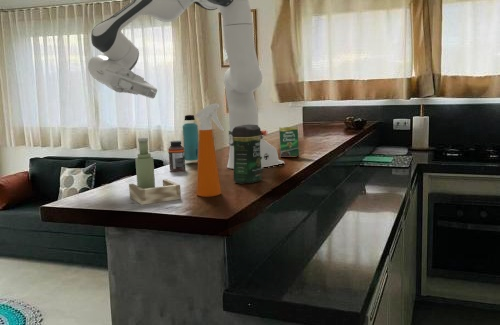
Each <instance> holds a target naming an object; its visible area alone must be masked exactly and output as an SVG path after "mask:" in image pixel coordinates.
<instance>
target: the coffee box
mask: <svg viewBox="0 0 500 325" xmlns="http://www.w3.org/2000/svg"><path fill="white" fill-rule="evenodd" d="M278 129H279V130H278V131H279V149H280V157H281V156H299V157H300V148H299V147H300V145H299V128H298V126H284V127H283V126H281V127H279V128H278Z"/></svg>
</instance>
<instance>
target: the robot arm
mask: <svg viewBox="0 0 500 325" xmlns="http://www.w3.org/2000/svg"><path fill="white" fill-rule="evenodd" d="M192 4H195V5H196V6H200V7H201V8H202V9H204V10H206V11H214V10H218V11H219V12H220V14H221V18H222V27H223V28H222V30H223V42H224V51H225V53H226V56H227V60H228V64H229V65H228V66H229V68H227V70H226V71H225V73H224V75H223V84H224V90H225V96H226V102H227V109H228V121H229V122H228V124H229V130H228V144H229V155H228V162H227V166H226V167H227V168H228V169H233V170H234V144H233V139H232V137H233V136H232V133H233V129H234V128H235V127H237V126H241V125H258V126H259V111H258V107H257V103H256V99H255V98H256V97H255V94H254V92H255V91H257V89H258V88H259V87H260V86H261V84H262V81H263V74H262V71H261V69H260V65H259V60H258V55H257V52H256V47H255V37H254V35H255V34H254V27H253V26H254V25H253V14H252V10H251V6H250V2H249V0H132V1H130V2H128V4H126V5H124V7H122V8H121V9H120V10H118V11H116V12H115V13H114V14H112V15H111V16H110V17H108V18H107V19H105V20H102V21H101V22H99V23H98V24H96V25H95V26H94V27H93V29H92V31H91V35H90V37H91V44H92V46H93V47H94V48H96V49H97V50H98V51H99V52H101V53H102V54H100V55H99V54H98V55H94V56H92V57H91V58H90V59H89V61H88V64H87V69H88V72H89V74H90V75H91V77H93V78H94V79H95V81H97V82H99V83H101V84H102V85H105V86H106V87H108V88H110V89H111V90H113V91H115V92H116V93H124V94H125V93H126V94H132V95H136V96H137V95H139V96H143V97H146V98H149V99H154V98H156V95H157V92H158V89H157V88H156V87H155V86H154V85H152V84H151V83H149V82H148V81H146V80H145V79H144V77H142V76H140V75H138V74H137V73H135V72H133V71H132V70H133V69H134V68H135V66H136V64H137V63H138V60H139V56H140V52H139V49H138V48H137V47H136V45H134V43H133V42H132V41H131V40H130V39H128V37H127V36H126V35H125V33H123V32H122V30H124V28H125V27H127V26H128V25H129V24H131V23H132V22H133V21H134V20H136V19H137V18H139V17H142V16H148V17H149V16H150V17H151V18H153V19H156V20H158V21H160V22H164V23H170V22H173V21H176V20H177V19H179V17H180V16H181V15H182V14H183V13H184V12H185V11H186V10H187V9H188V8H189V7H190V6H191V5H192ZM260 132H261V139H260V156H261V168H262V167H267V166H272V165H278V164H282V163H284V164H285V161H284V160H282V159H279V155H278V154H279V153H278V150H277V148H276V147H275V146H273V145H272V144H270V143H269V142H268V141H266V140H265V139H264V137H263V136H265V137H267V130H265V129H264V130H263V129H262V130H261V129H260ZM262 169H263V168H262Z"/></svg>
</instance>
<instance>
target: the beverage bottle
mask: <svg viewBox="0 0 500 325" xmlns="http://www.w3.org/2000/svg"><path fill="white" fill-rule="evenodd" d="M184 121H195V115H194V114H186V115H184ZM198 127H199V124H197V123H195V122H186V123H184V124H183V125H182V136H183V145H182V146H183V147H184V153H185V161H190V162H191V161H198V148H199V128H198Z"/></svg>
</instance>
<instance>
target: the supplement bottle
mask: <svg viewBox="0 0 500 325" xmlns="http://www.w3.org/2000/svg"><path fill="white" fill-rule="evenodd" d="M169 146H170V147H169V148H168V161H169V162H168V163H169V171H170V172H173V173H175V172H176V173H178V172H184V171H185V170H186V160H185V153H184V147H183V146H184V145H182V140H172V141H170V145H169Z"/></svg>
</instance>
